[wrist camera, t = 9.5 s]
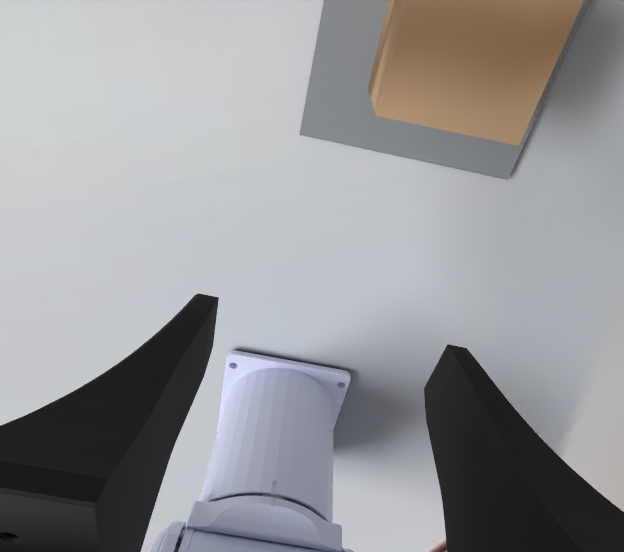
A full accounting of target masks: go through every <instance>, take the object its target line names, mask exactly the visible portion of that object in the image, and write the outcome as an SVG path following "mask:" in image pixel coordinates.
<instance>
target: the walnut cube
mask: <svg viewBox="0 0 624 552" xmlns="http://www.w3.org/2000/svg"><path fill="white" fill-rule="evenodd" d="M583 2H584V0H389V4H388V8H387V12H386V16H385V20H384V24H383V28H382V32H381V36H380V40H379V45H378V49H377V53H376V57H375V61H374V65H373V69H372V73H371V77H370V81H369V86H368V92H369V95H370V98H371V101H372V104H373V107H374V110H375V113H376V116H380V117H385V118H389V119H394V120H399V121H403V122H408V123H413V124H417V125H422V126H427V127H432V128H436V129H441V130H446V131H450V132H455V133H460V134H464V135H469V136H474V137H478V138H483V139H488V140H493V141H497V142H502V143H507V144H511V145H516V146H519V144H520V142H521V140H522V138H523V135H524V133H525V131H526V129H527V126H528V124H529V122H530V120H531V118H532V115H533V113H534V111H535V109H536V106H537V104H538V102H539V100H540V97H541V95H542V93H543V91H544V89H545V86H546V84H547V82H548V80H549V77H550V75H551V73H552V71H553V69H554V66H555V64H556V62H557V60H558V57H559V55H560V53H561V51H562V48H563V46H564V44H565V42H566V40H567V37H568V35H569V33H570V31H571V28H572V26H573V24H574V22H575V19H576V17H577V15H578V13H579V11H580V8H581V6H582V4H583Z"/></svg>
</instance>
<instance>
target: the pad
mask: <svg viewBox="0 0 624 552" xmlns="http://www.w3.org/2000/svg"><path fill="white" fill-rule="evenodd" d="M590 1H591V0H584V2H583V4H582V6H581V8H580V11H579V13H578V15H577V17H576V19H575V22H574V24H573V26H572V28H571V31H570V33H569V35H568V37H567V40H566V42H565V44H564V46H563V48H562V51H561V53H560V55H559V57H558V60H557V62H556V64H555V66H554V69H553V71H552V73H551V75H550V77H549V80H548V82H547V84H546V86H545V89H544V91H543V93H542V95H541V97H540V100H539V102H538V104H537V106H536V109H535V111H534V113H533V115H532V118H531V120H530V122H529V124H528V126H527V129H526V131H525V133H524V135H523V138H522V140H521V142H520V144H519V146H516V145H511V144H507V143H502V142H497V141H493V140H488V139H483V138H478V137H474V136H469V135H464V134H460V133H455V132H450V131H446V130H441V129H436V128H432V127H427V126H422V125H417V124H413V123H408V122H403V121H399V120H394V119H389V118H385V117H380V116H376V113H375V110H374V107H373V104H372V101H371V98H370V95H369V92H368V86H369V81H370V77H371V73H372V69H373V65H374V61H375V57H376V53H377V49H378V45H379V40H380V36H381V32H382V28H383V24H384V20H385V16H386V12H387V8H388V4H389V0H324V4H323V9H322V15H321V20H320V26H319V31H318V37H317V42H316V48H315V53H314V59H313V64H312V70H311V75H310V81H309V86H308V92H307V97H306V103H305V108H304V114H303V119H302V125H301V130H300V135H303V136H308V137H312V138H317V139H322V140H326V141H331V142H335V143H340V144H345V145H349V146H354V147H359V148H363V149H368V150H372V151H377V152H382V153H386V154H391V155H396V156H400V157H405V158H409V159H414V160H419V161H423V162H428V163H433V164H437V165H442V166H446V167H451V168H456V169H460V170H465V171H470V172H474V173H479V174H483V175H488V176H493V177H497V178H502V179H507V180H508V178H509V176H510V174H511V172H512V169H513V167H514V165H515V163H516V161H517V159H518V156H519V154H520V152H521V150H522V148H523V146H524V143H525V141H526V139H527V137H528V135H529V133H530V130H531V128H532V126H533V124H534V122H535V120H536V118H537V115H538V113H539V111H540V109H541V107H542V105H543V102H544V100H545V98H546V96H547V94H548V92H549V89H550V87H551V85H552V83H553V81H554V79H555V76H556V74H557V72H558V70H559V68H560V66H561V63H562V61H563V59H564V57H565V55H566V53H567V50H568V48H569V46H570V44H571V42H572V40H573V37H574V35H575V33H576V31H577V29H578V27H579V24H580V22H581V20H582V18H583V16H584V14H585V12H586V9H587V7H588V5H589V3H590Z"/></svg>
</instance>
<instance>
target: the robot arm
mask: <svg viewBox="0 0 624 552" xmlns="http://www.w3.org/2000/svg"><path fill="white" fill-rule="evenodd" d="M218 299H219V298H218V297H213V296H208V295H203V294H197V295H195V296H194V297H193V298H192V299H191V300H190V301H189V302H188V304H187V305H186V306H185V307H184V308H183V309H182V310H181V311H180V312H179V313H178V314H177V315H176V316H175V317H174V318H173V319H172V320H171V321H170V322H169V323H167V324H166V325H165V326H164V327H163V328H162V329H161V330H160V331H159V332H158V333H156V334H155V335H154V336H153V337H152V338H151V339H149V340H148V341H147V342H146V343H144V344H143V345H142V346H141V347H139V348H138V349H137V350H136V351H134V352H133V353H132V354H131V355H129V356H128V357H127V358H125V359H124V360H122V361H121V362H120V363H118V364H117V365H115V366H114V367H112V368H111V369H109V370H108V371H106V372H105V373H103V374H102V375H100V376H99V377H97V378H95V379H94V380H92V381H90V382H89V383H87V384H85V385H84V386H82V387H80V388H79V389H77V390H75V391H73V392H71V393H70V394H68V395H66V396H64V397H62V398H60V399H58V400H56V401H54V402H52V403H50V404H48V405H46V406H44V407H42V408H40V409H38V410H36V411H34V412H32V413H30V414H28V415H25V416H23V417H21V418H18V419H16V420H13V421H11V422H9V423H6V424H4V425H1V426H0V552H140V551H141V548H142V545H143V541H144V538H145V535H146V532H147V528H148V525H149V522H150V518H151V515H152V512H153V509H154V506H155V502H156V499H157V496H158V493H159V490H160V486H161V483H162V480H163V477H164V474H165V471H166V468H167V465H168V462H169V459H170V455H171V453H172V450H173V447H174V445H175V442H176V440H177V437H178V435H179V433H180V430H181V428H182V426H183V423H184V421H185V419H186V417H187V414H188V412H189V410H190V407H191V405H192V403H193V400H194V398H195V396H196V393H197V391H198V389H199V386H200V384H201V382H202V379H203V377H204V374H205V371H206V367H207V364H208V361H209V357H210V354H211V351H212V347H213V340H214V332H215V323H216V315H217V307H218ZM232 363H236V364H232ZM350 381H351V375H350V373H349V372H348V371H345V370H340V369H334V368H329V367H323V366H318V365H312V364H307V363H301V362H296V361H291V360H285V359H280V358H274V357H269V356H263V355H258V354H252V353H247V352H241V351H234V350H233V351H230V352H229V353H228V355H227V358H226V366H225V374H224V381H223V389H222V397H221V405H220V413H219V421H218V429H217V437H216V440H215V444H214V448H213V451H212V455H211V459H210V462H209V466H208V470H207V473H206V477H205V480H204V484H203V488H202V491H201V495H200V499H199V501H194V503H193V507H192V510H191V514H190V517H189V521H188V524H187V528H186V522H180V521H174V522H173V523H172V524H171V525H170V526H169V527H168V528H166V529H165V530H164V531H162V532H161V533H160V534H159V535H158V537H157V538H156V540H155V542H154V545H153V547H152V549H151V552H354V551H352V550H349V549H343V548H342V526H341V525H338V524H333V429H334V427H335V424H336V421H337V418H338V415H339V412H340V409H341V407H342V404H343V401H344V398H345V395H346V392H347V389H348V387H349V384H350ZM340 382H342V384H340ZM424 392H425V409H426V420H427V425H428V430H429V435H430V440H431V445H432V450H433V455H434V460H435V465H436V469H437V474H438V479H439V484H440V489H441V495H442V501H443V510H444V520H445V530H446V541H447V552H624V512H623V511H621V510H620V509H619V508H618V507H616V506H615V505H614V504H612V503H611V502H610V501H609V500H607V499H606V498H605V497H604V496H603V495H601V494H600V493H599V492H598V491H596V490H595V489H594V488H593V487H592V486H591V485H590V484H589V483H587V482H586V481H585V480H584V479H583V478H582V477H581V476H579V475H578V474H577V473H576V472H575V471H574V470H572V468H570V467H569V466H568V465H567V464H566V463H565V462H564V461H563V460H562V459H561V458H560V457H559V456H558V455H557V454H556V453H555V452H554V451H553V450H552V449H551V448H550V447H549V446H548V445H547V444H546V443H545V442H544V441H543V440H542V439H541V438H540V437H539V436H538V435H537V434H536V433H535V431H534V430H533V429H532V428H531V427H530V426H529V425H528V424H527V422H526V421H525V420H524V419H523V418H522V417H521V416H520V414H519V413H518V412H517V411H516V410H515V409H514V407H513V406H512V405H511V404H510V403H509V401H508V400H507V399H506V398H505V396H504V395H503V394H502V393H501V391H500V390H499V389H498V388H497V386H496V385H495V384H494V382H493V381H492V380H491V379H490V377H489V376H488V375H487V373H486V372H485V371H484V370H483V368H482V367H481V366H480V364H479V363H478V362H477V361H476V359H475V358H474V357H473V356H472V354H471V353H470V352H469V351H468V350H467V349H466V348H462V347H457V346H453V345H447V347H446V349H445V351H444V352H443V354H442V356H441V358H440V360H439V362H438V364H437V365H436V367H435V369H434V371H433V373H432V375H431V377H430V379H429V380H428V382H427V384H426V386H425V388H424Z"/></svg>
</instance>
